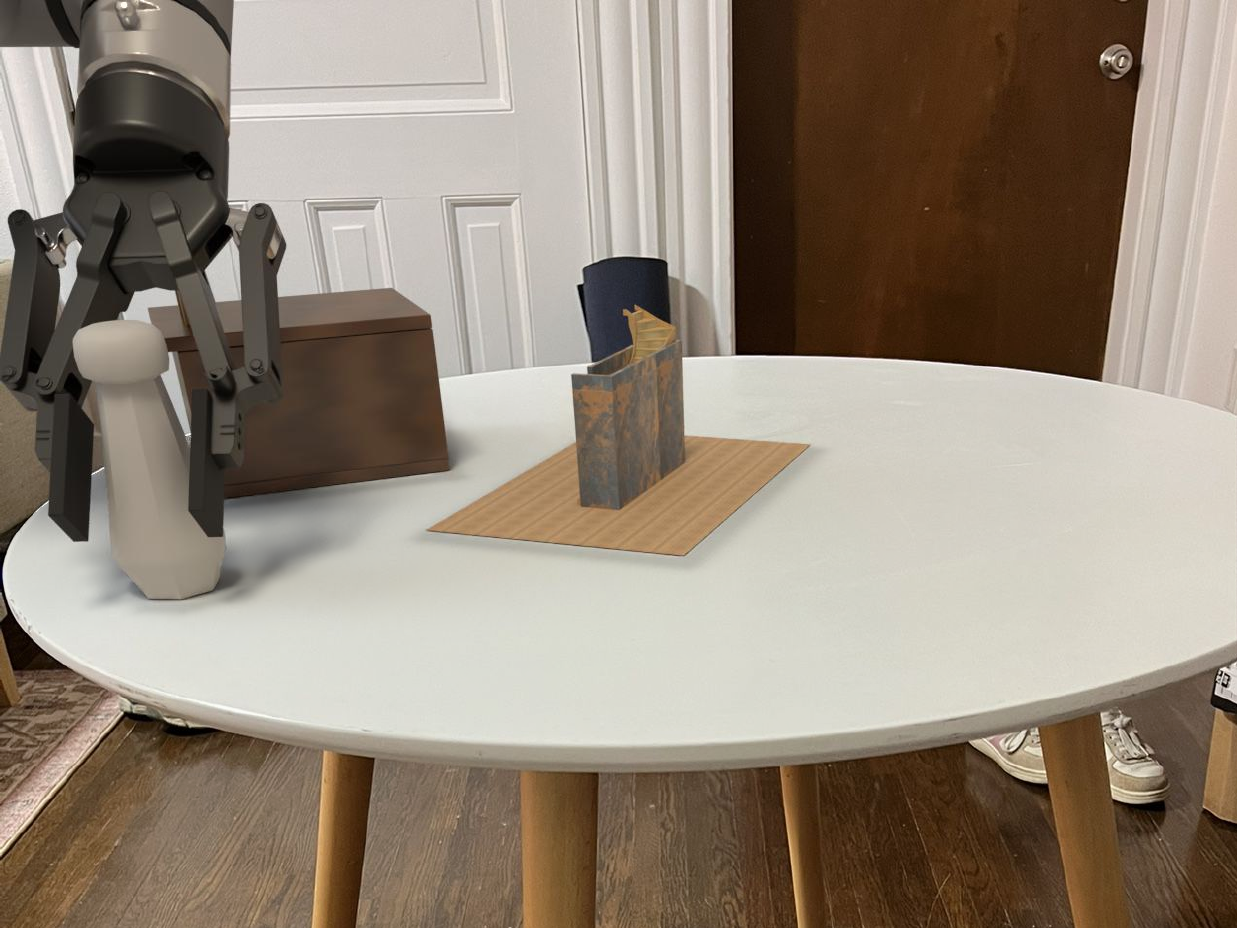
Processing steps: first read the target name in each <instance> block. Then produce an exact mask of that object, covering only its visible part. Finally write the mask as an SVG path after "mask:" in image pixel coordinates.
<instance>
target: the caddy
mask: <svg viewBox="0 0 1237 928" xmlns="http://www.w3.org/2000/svg"><path fill="white" fill-rule="evenodd" d="M435 344H436V343H435V338H434V330H433V328H427V329H417V330H406V331H395V332H384V333H373V334H362V335H351V336H340V337H329V338H319V339H308V340H297V341H286V342H281V358H282V376H283V398H282V399H281V401H279V402H278V403H276V404H267V403H265V402H260V403H258V404H255V405H253V406H251V407H250V408H249V409H248V410H247V412H246V414H245V426H244V460H243V462H242V464H241V466H240V468H239V469H225V485H224V499H229V498H230V499H231V498H237V497H245V496H246V497H247V496H253V495H262V494H269V493H270V494H271V493H278V492H284V491H294V490H302V489H303V490H304V489H309V488H318V487H327V486H334V485H342V484H343V485H344V484H349V483H350V484H351V483H357V482H366V481H373V480H382V479H389V478H390V479H391V478H398V477H406V476H412V475H413V476H414V475H420V474H421V475H423V474H430V473H437V472H445V471H446V472H447V471H450V470H451V466H450V457H449V448H448V441H447V432H446V426H445V425H446V424H445V416H444V409H443V401H442V392H441V385H440V378H439V377H440V375H439V370H438V369H439V368H438V361H437V353H436V346H435ZM229 348H230V351H231V354H232V357H233V360H234V363H235V366H236V369H237V368H240V367H243V366H245V362H244V345H242V346H231V347H229ZM171 355H172V358H173V362H174V366H175V371H176V376H177V379H178V384H179V389H180V392H181V397H182V401H183V406H184V410H185V415H186V418H187V422H188V423H187V424H188V426H189V431H190V433H191V413H192V390H196V389H208V391H209V392H210V394H211V396H212V387H211V385H210V384H209V382H208V380H207V379H206V377H205V375H204V372H205V369H204V366H203V363H202V360H201V357H200V354H199V351H198V350H188V351H177V352H171ZM205 373H206V372H205Z"/></svg>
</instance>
